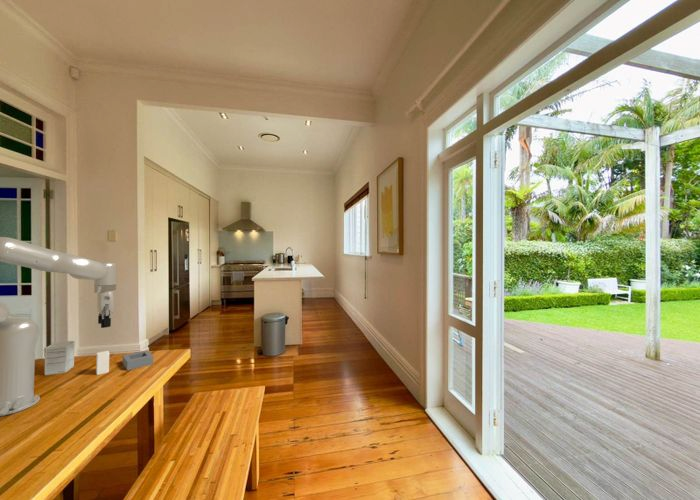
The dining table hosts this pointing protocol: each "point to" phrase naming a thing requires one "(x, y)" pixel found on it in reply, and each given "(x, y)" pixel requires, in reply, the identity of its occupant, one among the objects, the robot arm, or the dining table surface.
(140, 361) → the socket board
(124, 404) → the dining table surface
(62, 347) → the supplement box
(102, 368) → the peg
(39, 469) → the dining table surface
